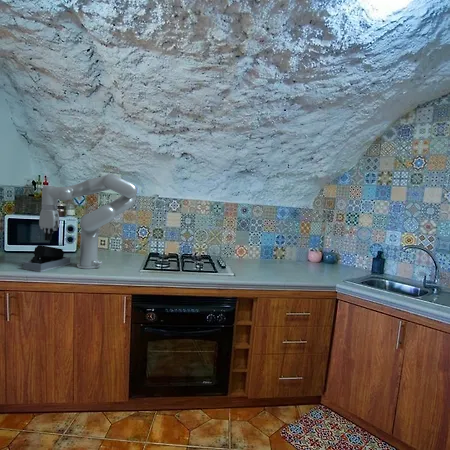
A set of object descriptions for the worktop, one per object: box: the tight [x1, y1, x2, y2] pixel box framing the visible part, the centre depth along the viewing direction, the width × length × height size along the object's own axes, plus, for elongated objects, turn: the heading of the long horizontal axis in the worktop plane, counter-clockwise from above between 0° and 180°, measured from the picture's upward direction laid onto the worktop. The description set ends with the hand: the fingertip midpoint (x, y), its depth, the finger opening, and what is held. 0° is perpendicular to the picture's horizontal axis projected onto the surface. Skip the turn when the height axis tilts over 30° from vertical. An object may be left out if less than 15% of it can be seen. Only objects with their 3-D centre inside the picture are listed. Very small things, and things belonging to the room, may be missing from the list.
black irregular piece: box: [30, 244, 65, 264], centre depth 180 cm, size 7×18×10 cm, turn 165°
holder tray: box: [23, 256, 71, 273], centre depth 181 cm, size 11×22×4 cm, turn 166°
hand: (48, 240), depth 180 cm, fingers closed
